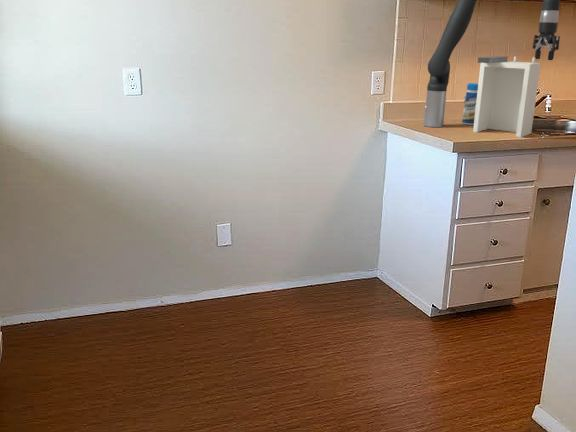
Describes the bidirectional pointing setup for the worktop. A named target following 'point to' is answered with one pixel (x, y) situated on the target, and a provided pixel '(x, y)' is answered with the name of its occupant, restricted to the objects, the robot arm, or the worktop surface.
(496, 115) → the shelf
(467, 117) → the beverage bottle
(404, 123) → the worktop surface
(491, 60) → the bar
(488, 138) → the worktop surface
